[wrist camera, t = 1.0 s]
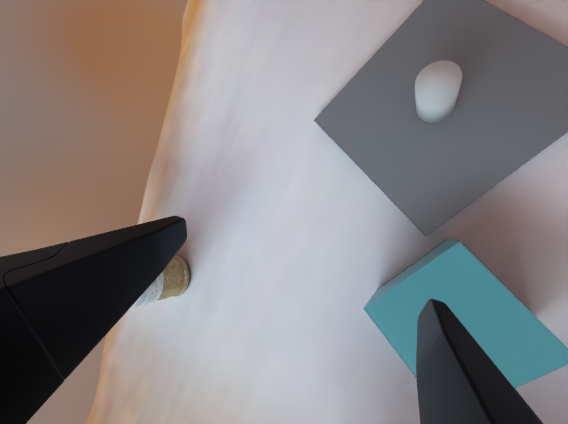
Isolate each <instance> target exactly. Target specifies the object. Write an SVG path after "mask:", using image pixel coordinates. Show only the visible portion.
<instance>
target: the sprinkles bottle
mask: <svg viewBox="0 0 568 424" xmlns="http://www.w3.org/2000/svg"><path fill="white" fill-rule="evenodd" d="M188 283H189V270H188V266H187V264H186V263H185V261H184V260H183V259H182V258H181V257H179V256H176V255H175V256H174V257H173V259H172V260H171V261H170V263H169V264H168V265H167V267H166V268H165V269H164V271H163V272H162V273H161V274H160V275H159V276H158V278H157V279H156V280H155V281H154V282H153V283H152V284H151V285H150V286H149V287H148V289H147V290H146V291H145V292H144V293H143V294H142V295H141V296H140V297H139V299H138V300H137V301H136V302H135V303H134V304H133V305H132V306H131V307H130V309H131V308H135V307H138V306H142V305H146V304H149V303H152V302H155V301H157V300H161V299H165V298H168V297H172V296H179V295H181V294H183V293H184V292H185V290H186V289H187V287H188Z"/></svg>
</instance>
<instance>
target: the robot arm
mask: <svg viewBox="0 0 568 424" xmlns="http://www.w3.org/2000/svg"><path fill="white" fill-rule="evenodd" d="M186 238H187V229H186V221H185V219H184V218H181V217H178V216H171V217H167V218H163V219H159V220H155V221H151V222H147V223H143V224H139V225H134V226H130V227H126V228H122V229H118V230H114V231H110V232H106V233H102V234H98V235H94V236H90V237H86V238H82V239H78V240H74V241H70V242H66V243H61V244H58V245H54V246H49V247H45V248H40V249H36V250H32V251H27V252H22V253H17V254H12V255H7V256H2V257H0V424H26V423H27V422H28V421H29V420H30V418H31V417H32V416H33V415H34V414H35V413H36V412H37V411H38V410H39V408H40V407H41V406H42V405H43V404H44V403H45V402H46V401H47V400H48V398H49V397H50V396H51V395H52V394H53V393H54V392H55V391H56V390H57V388H58V387H59V386H60V385H61V384H62V383H63V382H64V379H66V378H67V377H68V376H69V375H70V374H71V373H72V372H73V370H74V369H75V368H76V367H77V366H78V365H79V364H80V363H81V362H82V360H83V359H84V358H85V357H86V356H87V355H88V354H89V353H90V351H92V349H93V348H94V347H95V346H96V345H97V344H98V343H99V342H100V341H101V340H102V338H103V337H104V336H105V335H106V334H107V333H108V332H109V331H110V330H111V328H112V327H113V326H114V325H115V324H116V323H117V322H118V321H119V320H120V318H121V317H122V316H123V315H124V314H125V313H126V312H127V311H128V310H129V309H130V307H131V306H132V305H133V304H134V303H135V302H136V301H137V300H138V299H139V297H140V296H141V295H142V294H143V293H144V292H145V291H146V290H147V289H148V287H149V286H150V285H151V284H152V283H153V282H154V281H155V280H156V279H157V278H158V276H159V275H160V274H161V273H162V272H163V271H164V269H165V268H166V267H167V265H168V264H169V263H170V261H171V260H172V259H173V257H174V256H175V254H176V253H177V252H178V250H179V249H180V248H181V246H182V245H183V244H184V242H185V241H186ZM416 377H417V389H418V401H419V413H420V424H543V423H542V421H541V420H540V419H539V418H538V416H537V415H536V414H535V413H534V412H533V410H532V409H531V408H530V407H529V405H528V404H527V403H526V402H525V400H524V399H523V398H522V397H521V396H520V394H519V393H518V392H517V391H516V389H515V388H514V387H513V386H512V384H511V383H510V382H509V381H508V380H507V378H506V377H505V376H504V375H503V373H502V372H501V371H500V370H499V368H498V367H497V366H496V365H495V364H494V362H493V361H492V360H491V359H490V357H489V356H488V355H487V354H486V352H485V351H484V350H483V349H482V348H481V346H480V345H479V344H478V343H477V341H476V340H475V339H474V338H473V337H472V335H471V334H470V333H469V332H468V330H467V329H466V328H465V327H464V325H463V324H462V323H461V322H460V321H459V319H458V318H457V317H456V316H455V314H454V313H453V312H452V311H451V309H450V308H449V307H448V306H447V305H446V304H445V303H444V302H442V301H439V300H436V299H429V300H428V301H427V303H426V304H425V306H424V308H423V309H422V311H421V312H420V314H419V316H418V321H417V348H416Z"/></svg>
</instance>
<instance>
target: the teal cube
mask: <svg viewBox="0 0 568 424" xmlns="http://www.w3.org/2000/svg"><path fill="white" fill-rule="evenodd" d="M429 299H436V300H439V301H442V302H444V303H445V304H446V305H447V306H448V307H449V308H450V309H451V311H452V312H453V313H454V314H455V316H456V317H457V318H458V319H459V321H460V322H461V323H462V324H463V325H464V327H465V328H466V329H467V330H468V332H469V333H470V334H471V335H472V337H473V338H474V339H475V340H476V341H477V343H478V344H479V345H480V346H481V348H482V349H483V350H484V351H485V352H486V354H487V355H488V356H489V357H490V359H491V360H492V361H493V362H494V364H495V365H496V366H497V367H498V368H499V370H500V371H501V372H502V373H503V375H504V376H505V377H506V378H507V380H508V381H509V382H510V383H511V384H512V386H513V387H514V388H516V387H518V386H521V385H523V384H525V383H527V382H530V381H532V380H534V379H536V378H538V377H541V376H543V375H545V374H547V373H550V372H552V371H554V370H556V369H558V368H561V367H563V366H565V365H567V364H568V348H567V347H566V346H565V345H564V344H563V343H562V342H561V341H560V340H559V339H558V338H557V337H556V336H555V335H554V334H553V333H552V332H551V331H550V330H549V329H548V328H547V327H546V326H545V325H544V324H543V323H542V322H541V321H540V320H539V319H538V318H537V317H536V316H534V315H533V314H532V313H531V312H530V311H529V310H528V309H527V308H526V307H525V306H524V305H523V304H522V303H521V302H520V301H519V300H518V299H517V298H516V297H515V296H514V295H513V294H512V293H511V292H510V291H509V290H508V289H507V288H506V287H505V286H504V285H503V284H502V283H501V282H500V281H499V280H498V279H497V278H496V277H495V276H494V275H493V274H492V273H491V272H490V271H489V270H488V269H487V268H486V267H485V266H484V265H483V264H482V263H481V262H480V261H479V260H478V259H477V258H476V257H475V256H474V255H473V254H472V253H471V252H470V251H469V250H468V249H467V248H466V247H465V246H464V245H462V244H461V243H460V242H459V241H457V240H454V239H452V238H449V239H448V240H447V241H445V242H444V243H442V244H441V245H439V246H438V247H437V248H435V249H434V250H432V251H431V252H430V253H428V254H427V255H425V256H424V257H422V258H421V259H420V260H418V261H417V262H415V263H414V264H413V265H411V266H410V267H408V268H407V269H405V270H404V271H403V272H401V273H400V274H398V275H397V276H396V277H394V278H393V279H391V280H390V281H388V282H387V283H386V284H384V285H383V286H381V287H380V288H379V289H377V291H376V292H375V293H374V295H373V296H372V297H371V299H370V300H369V301H368V303H367V304H366V306H365V307H364V310H365V311H366V312H367V314H368V315H369V316H370V318H371V319H372V320H373V321H374V323H375V324H376V325H377V327H378V328H379V329H380V331H381V332H382V333H383V335H384V336H385V337H386V339H387V340H388V341H389V342H390V344H391V345H392V346H393V348H394V349H395V350H396V352H397V353H398V354H399V356H400V357H401V358H402V360H403V361H404V362H405V363H406V365H407V366H408V367H409V369H410V370H411V371H412V373H413V374H414V375H415V377H416V348H417V321H418V316H419V314H420V312H421V311H422V309H423V308H424V306H425V304H426V303H427V301H428V300H429ZM416 378H417V377H416Z"/></svg>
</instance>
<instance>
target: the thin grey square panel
mask: <svg viewBox="0 0 568 424" xmlns="http://www.w3.org/2000/svg"><path fill="white" fill-rule="evenodd" d="M314 121H315V122H316V123H317V124H318V125H319V126H320V127H321V128H322V129H323V130H324V131H325V132H326V133H327V134H328V135H329V136H330V137H331V138H332V140H333V141H334V142H335V143H336V144H337V145H338V146H339V147H340V148H341V149H342V150H343V151H344V152H345V153H346V154H347V155H348V156H349V157H350V158H351V159H352V160H353V161H354V162H355V163H356V164H357V165H358V166H359V167H360V169H361V170H362V171H363V172H364V173H365V174H366V175H367V176H368V177H369V178H370V179H371V180H372V181H373V182H374V183H375V184H376V185H377V186H378V187H379V188H380V189H381V190H382V191H383V192H384V193H385V194H386V195H387V197H388V198H389V199H390V200H391V201H392V202H393V203H394V204H395V205H396V206H397V207H398V208H399V209H400V210H401V211H402V212H403V213H404V214H405V215H406V216H407V217H408V218H409V219H410V220H411V221H412V222H413V223H414V224H415V226H416V227H417V228H418V229H419V230H420V231H421V232H422V233H423V234H424V235H425V236H427V235H428V234H429V233H431V232H432V231H433V230H435V229H436V228H437V227H439V226H440V225H441V224H443V223H444V222H446V221H447V220H448V219H450V218H451V217H452V216H454V215H455V214H456V213H458V212H459V211H461V210H462V209H463V208H465V207H466V206H467V205H469V204H470V203H471V202H473V201H474V200H476V199H477V198H478V197H480V196H481V195H482V194H484V193H485V192H486V191H488V190H489V189H491V188H492V187H493V186H495V185H496V184H497V183H499V182H500V181H501V180H503V179H504V178H505V177H507V176H508V175H510V174H511V173H512V172H514V171H515V170H516V169H518V168H519V167H520V166H522V165H523V164H525V163H526V162H527V161H529V160H530V159H531V158H533V157H534V156H535V155H537V154H538V153H540V152H541V151H542V150H544V149H545V148H546V147H548V146H549V145H550V144H552V143H553V142H555V141H556V140H557V139H559V138H560V137H561V136H563V135H564V134H565V133H567V132H568V47H567V46H565V45H563V44H561V43H560V42H558V41H556V40H554V39H552V38H551V37H549V36H547V35H545V34H543V33H542V32H540V31H538V30H536V29H534V28H533V27H531V26H529V25H527V24H525V23H524V22H522V21H520V20H518V19H516V18H515V17H513V16H511V15H509V14H507V13H506V12H504V11H502V10H500V9H498V8H497V7H495V6H493V5H491V4H489V3H488V2H486V1H484V0H424V1H423V2H422V3H421V4H420V5H419V7H418V8H417V9H416V10H415V11H414V12H413V13H412V14H411V15H410V16H409V17H408V18H407V20H406V21H405V22H404V23H403V24H402V25H401V26H400V27H399V28H398V29H397V30H396V32H395V33H394V34H393V35H392V36H391V37H390V38H389V39H388V40H387V41H386V42H385V43H384V45H383V46H382V47H381V48H380V49H379V50H378V51H377V52H376V53H375V54H374V55H373V57H372V58H371V59H370V60H369V61H368V62H367V63H366V64H365V65H364V66H363V67H362V68H361V70H360V71H359V72H358V73H357V74H356V75H355V76H354V77H353V78H352V79H351V80H350V81H349V83H348V84H347V85H346V86H345V87H344V88H343V89H342V90H341V91H340V92H339V93H338V95H337V96H336V97H335V98H334V99H333V100H332V101H331V102H330V103H329V104H328V105H327V106H326V108H325V109H324V110H323V111H322V112H321V113H320V114H319V115H318V116H317V117H316V118H315V120H314Z"/></svg>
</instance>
